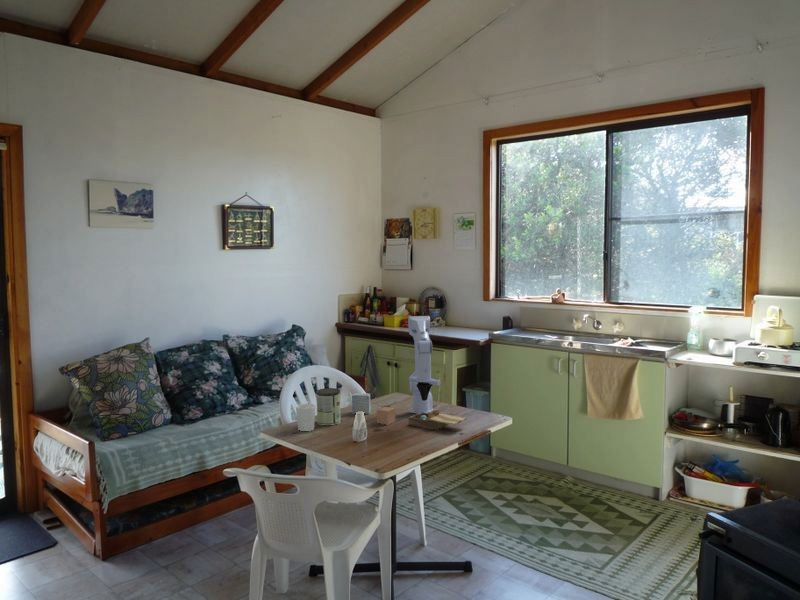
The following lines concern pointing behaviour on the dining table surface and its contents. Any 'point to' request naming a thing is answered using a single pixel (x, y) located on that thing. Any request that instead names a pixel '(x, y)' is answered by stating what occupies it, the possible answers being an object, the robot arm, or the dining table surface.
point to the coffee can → (328, 406)
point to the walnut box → (424, 422)
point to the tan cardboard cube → (386, 415)
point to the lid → (444, 417)
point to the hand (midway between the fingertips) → (424, 400)
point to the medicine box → (361, 403)
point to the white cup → (305, 417)
